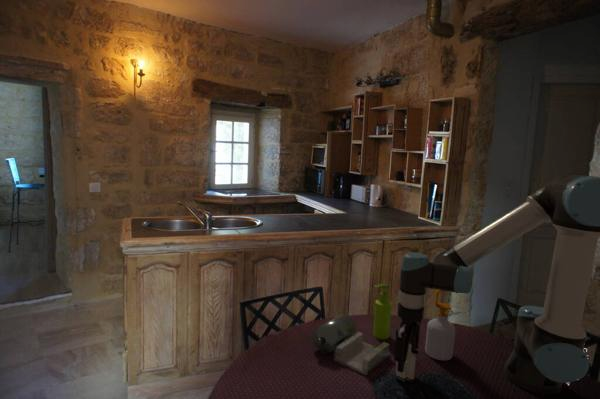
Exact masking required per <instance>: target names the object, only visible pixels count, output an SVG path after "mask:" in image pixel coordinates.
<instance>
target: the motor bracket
mask: <svg viewBox="0 0 600 399" xmlns="http://www.w3.org/2000/svg"><path fill="white" fill-rule="evenodd" d="M311 336H312V338H311V340H312V343H313V346H314V347H315V348H316V350H317V351H318V352H320V353H321V354H324V355H328V354H330V353H332V352H333V355H332V357H333V361H334V362H336V363H337V364H340V365H342V366H344V367H346V368H348V369H351V370H353V371H354V372H356V373H359V374H361V375H363V376H365V377H366V376H368V375H369V374H370V373H371V372H373V371H374V370H375V369H376V368H377V367H378V366H379V365H380V364H381V363H383V362H384V361H385V360H386V359H387V358H388V357H390V355H391V354H390V344H389V343H387V342H385V341H383V342H382V343H380V344H379V345H377V346H375V345H372V344H370V343H368V342H366V341H364V333H362V332H360V331H357V327H356V324H355V322H354V319H352V318H351V316H349V315H348V314H342V313H340V314H339V315H337V316H335V317H333V318H331V319H330V320H328V321H326V322H325V323H323V324H321V325H319V326H318V327H315V328H314V329H313V332H312V335H311Z"/></svg>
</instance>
